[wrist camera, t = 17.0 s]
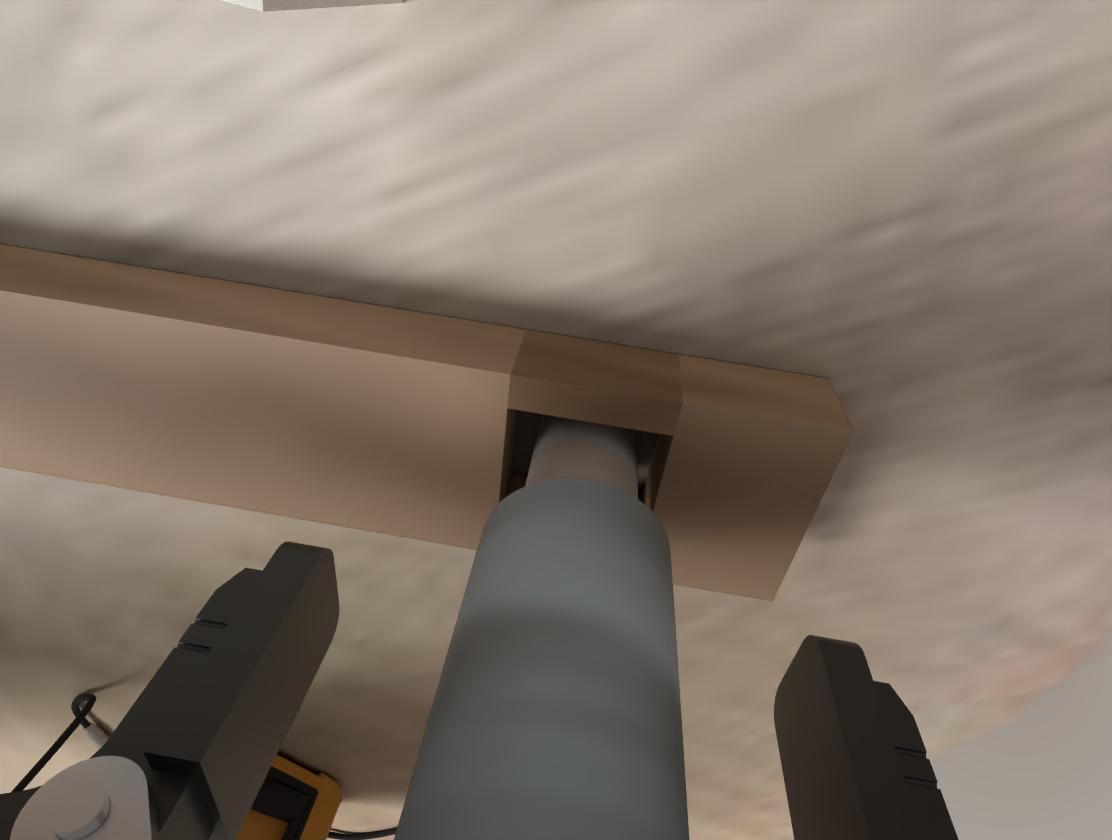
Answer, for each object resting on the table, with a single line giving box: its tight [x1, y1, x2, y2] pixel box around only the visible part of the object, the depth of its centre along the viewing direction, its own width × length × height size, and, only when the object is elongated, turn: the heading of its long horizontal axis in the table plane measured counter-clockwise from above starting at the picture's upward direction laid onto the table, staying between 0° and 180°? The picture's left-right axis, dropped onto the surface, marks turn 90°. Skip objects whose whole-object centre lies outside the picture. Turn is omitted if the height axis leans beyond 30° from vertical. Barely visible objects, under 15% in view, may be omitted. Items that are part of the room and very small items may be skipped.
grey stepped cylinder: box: [394, 414, 689, 840], centre depth 11 cm, size 4×4×10 cm
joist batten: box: [0, 244, 853, 601], centre depth 15 cm, size 5×22×2 cm, turn 83°
